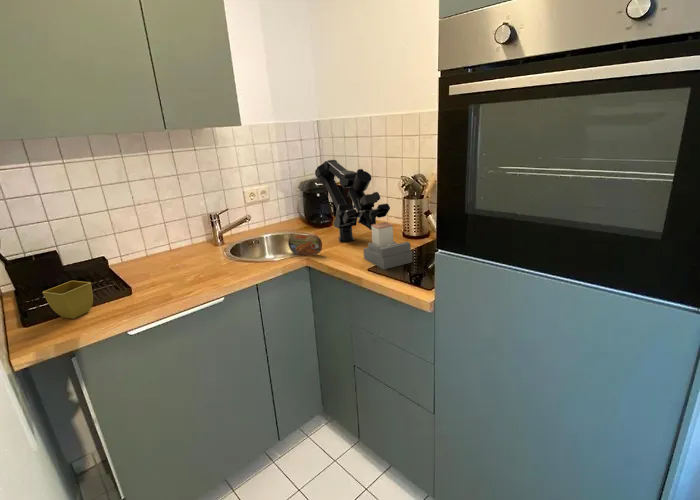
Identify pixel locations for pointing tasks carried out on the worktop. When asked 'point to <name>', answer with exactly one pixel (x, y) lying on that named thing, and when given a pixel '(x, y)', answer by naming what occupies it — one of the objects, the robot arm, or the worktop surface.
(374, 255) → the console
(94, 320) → the worktop surface
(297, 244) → the tin
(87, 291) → the flower pot
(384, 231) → the white block
